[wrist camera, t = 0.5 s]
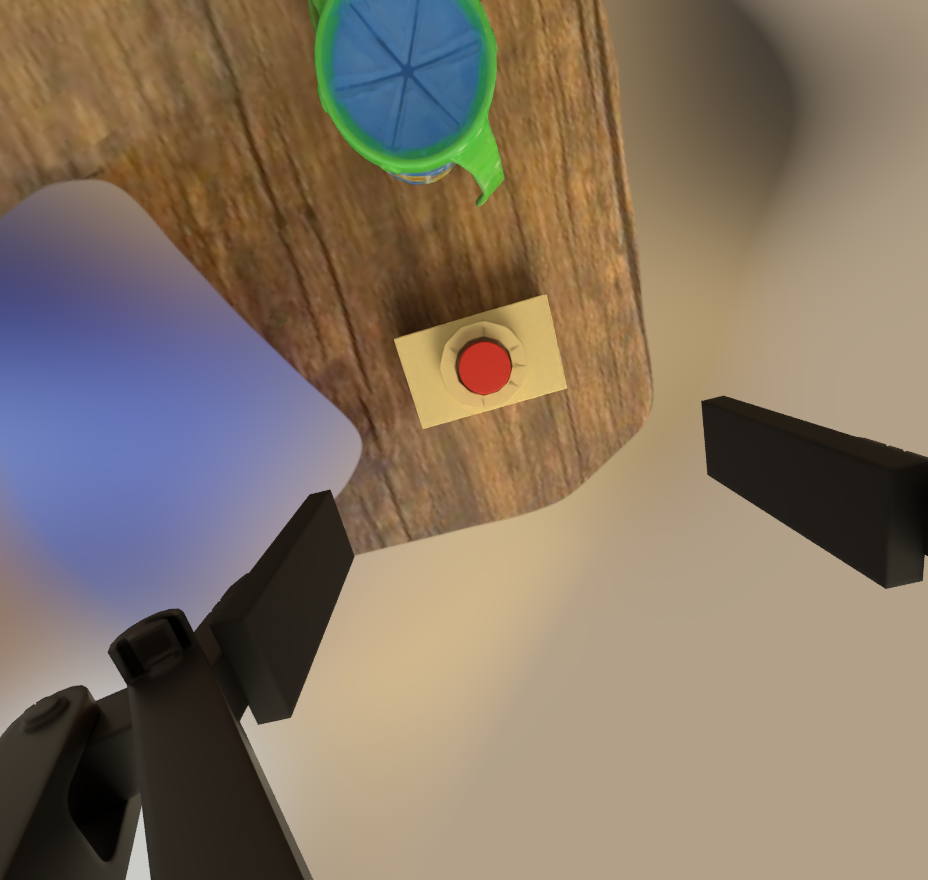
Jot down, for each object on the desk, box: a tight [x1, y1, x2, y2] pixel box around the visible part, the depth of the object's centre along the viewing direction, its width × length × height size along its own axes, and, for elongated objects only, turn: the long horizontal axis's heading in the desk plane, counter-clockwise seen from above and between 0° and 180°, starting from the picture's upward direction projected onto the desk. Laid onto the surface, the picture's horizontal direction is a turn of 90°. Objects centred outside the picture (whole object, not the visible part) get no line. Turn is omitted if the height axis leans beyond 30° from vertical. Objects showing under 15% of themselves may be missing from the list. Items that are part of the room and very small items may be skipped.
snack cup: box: [308, 0, 505, 206], centre depth 30 cm, size 16×10×10 cm
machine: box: [394, 294, 567, 429], centre depth 37 cm, size 13×8×5 cm, turn 106°
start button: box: [459, 341, 511, 394], centre depth 34 cm, size 4×4×2 cm
